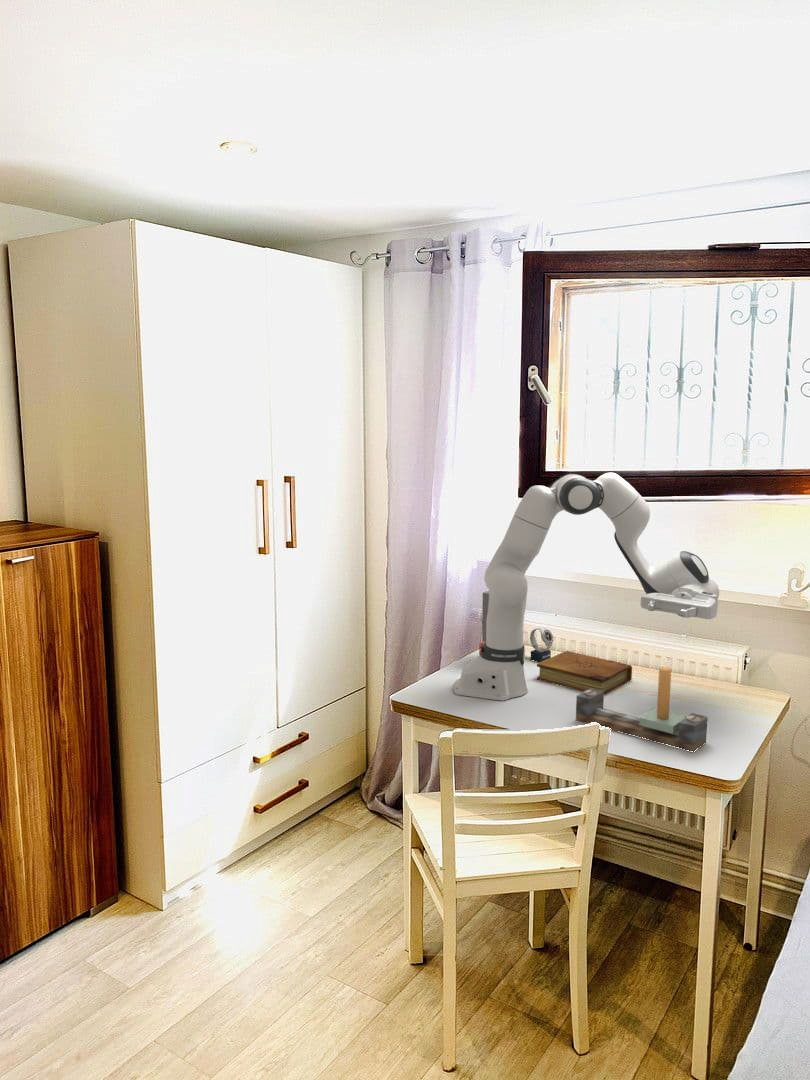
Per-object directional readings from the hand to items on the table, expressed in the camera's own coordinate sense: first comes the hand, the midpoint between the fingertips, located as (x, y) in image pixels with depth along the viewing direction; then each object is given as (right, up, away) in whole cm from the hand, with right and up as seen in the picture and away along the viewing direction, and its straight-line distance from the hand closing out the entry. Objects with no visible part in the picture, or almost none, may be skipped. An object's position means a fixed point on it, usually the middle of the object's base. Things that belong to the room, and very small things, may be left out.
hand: (666, 610), depth 224 cm
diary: (-15, -25, +35) cm, 46 cm away
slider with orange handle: (-4, -29, -10) cm, 31 cm away
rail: (-9, -31, -6) cm, 33 cm away
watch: (-25, -21, +55) cm, 64 cm away
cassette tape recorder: (-39, -22, +52) cm, 68 cm away
